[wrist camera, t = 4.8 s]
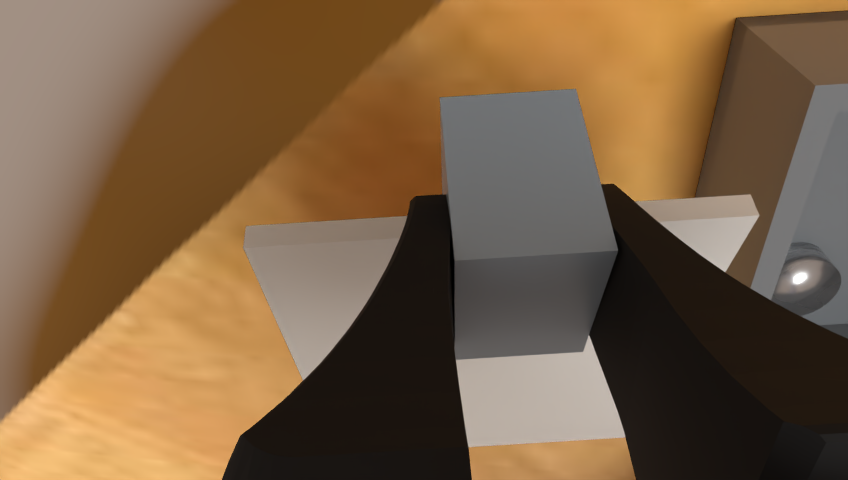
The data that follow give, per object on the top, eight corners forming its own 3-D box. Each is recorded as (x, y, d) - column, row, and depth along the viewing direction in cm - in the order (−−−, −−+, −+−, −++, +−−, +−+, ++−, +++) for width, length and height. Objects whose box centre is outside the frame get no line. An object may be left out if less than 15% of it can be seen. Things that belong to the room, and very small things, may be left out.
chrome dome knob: (812, 294, 28) (827, 315, 27) (743, 298, 27) (756, 319, 27) (835, 240, 26) (851, 259, 25) (761, 244, 26) (775, 264, 25)
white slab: (617, 403, 27) (643, 517, 25) (337, 420, 27) (334, 536, 25) (802, 45, 13) (910, 232, 10) (203, 83, 13) (164, 278, 10)
